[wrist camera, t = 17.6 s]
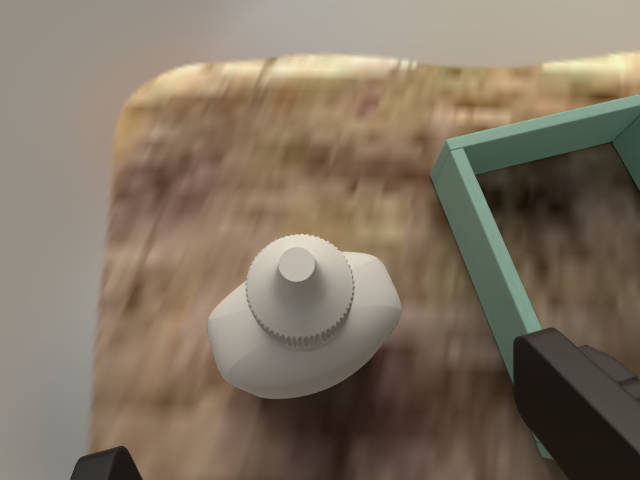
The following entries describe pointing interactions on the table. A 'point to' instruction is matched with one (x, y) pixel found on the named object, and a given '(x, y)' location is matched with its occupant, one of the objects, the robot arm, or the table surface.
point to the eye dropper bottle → (302, 318)
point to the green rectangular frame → (476, 218)
